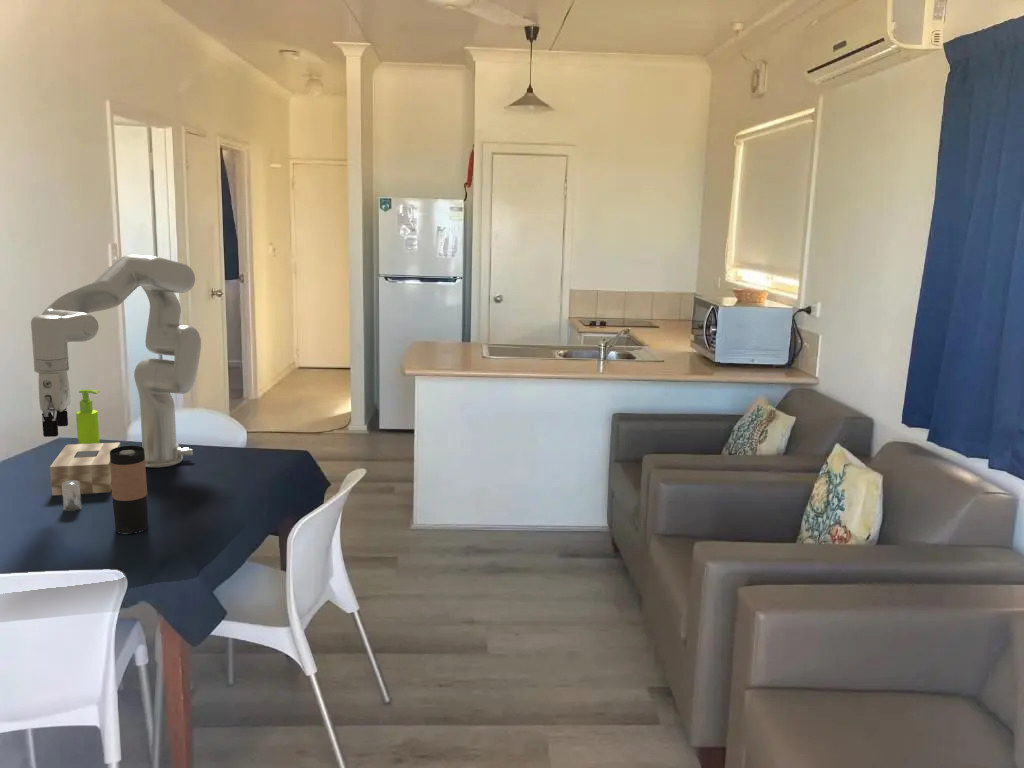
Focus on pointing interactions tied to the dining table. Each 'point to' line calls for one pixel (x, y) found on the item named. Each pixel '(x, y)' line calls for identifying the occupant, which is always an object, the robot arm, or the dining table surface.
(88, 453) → the gray square panel
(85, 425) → the green soap pump bottle
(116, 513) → the travel mug
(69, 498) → the peg
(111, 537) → the dining table surface
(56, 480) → the socket block
